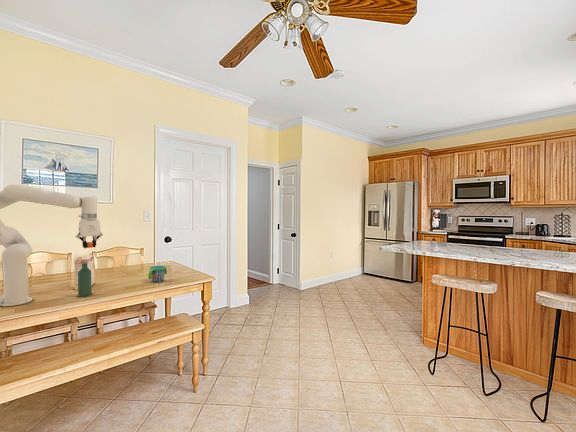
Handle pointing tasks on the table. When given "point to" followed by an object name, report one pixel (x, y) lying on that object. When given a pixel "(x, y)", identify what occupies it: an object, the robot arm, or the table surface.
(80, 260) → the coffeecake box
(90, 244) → the cap
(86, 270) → the bottle
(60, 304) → the table surface
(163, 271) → the snack cup
